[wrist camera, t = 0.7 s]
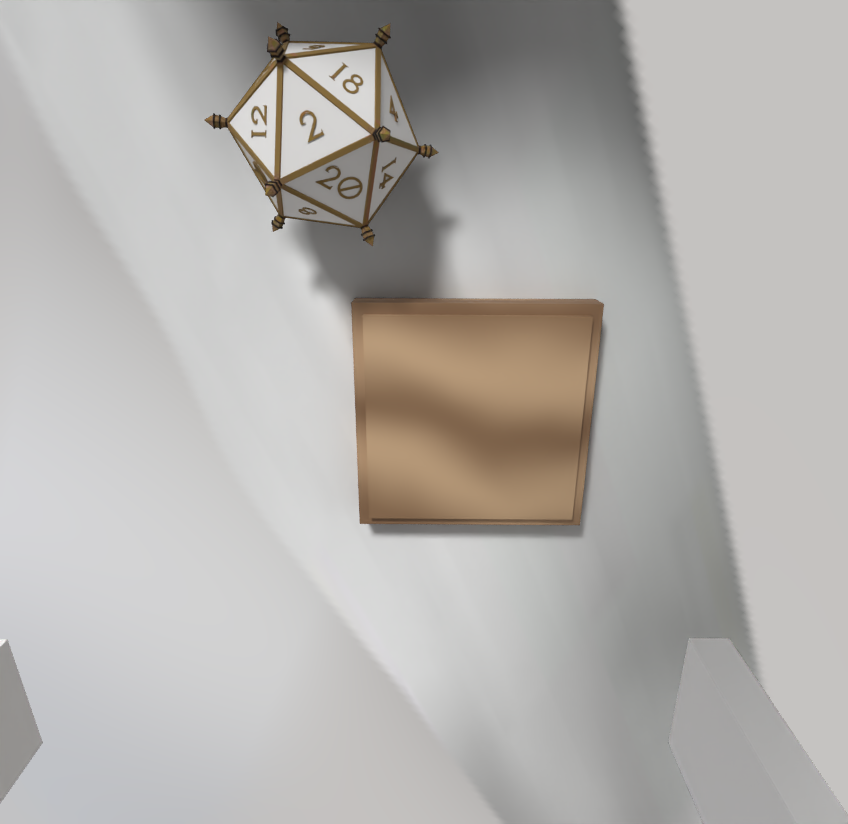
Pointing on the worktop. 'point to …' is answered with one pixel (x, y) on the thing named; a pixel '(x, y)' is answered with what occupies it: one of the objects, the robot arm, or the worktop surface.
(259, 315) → the worktop surface
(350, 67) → the game die
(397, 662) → the worktop surface
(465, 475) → the plate
